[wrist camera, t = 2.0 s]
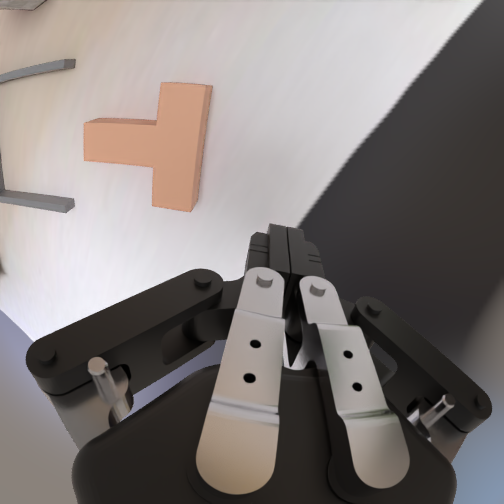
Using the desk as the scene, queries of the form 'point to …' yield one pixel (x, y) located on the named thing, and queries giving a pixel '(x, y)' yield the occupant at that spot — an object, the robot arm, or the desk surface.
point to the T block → (159, 143)
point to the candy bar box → (20, 4)
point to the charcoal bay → (3, 195)
